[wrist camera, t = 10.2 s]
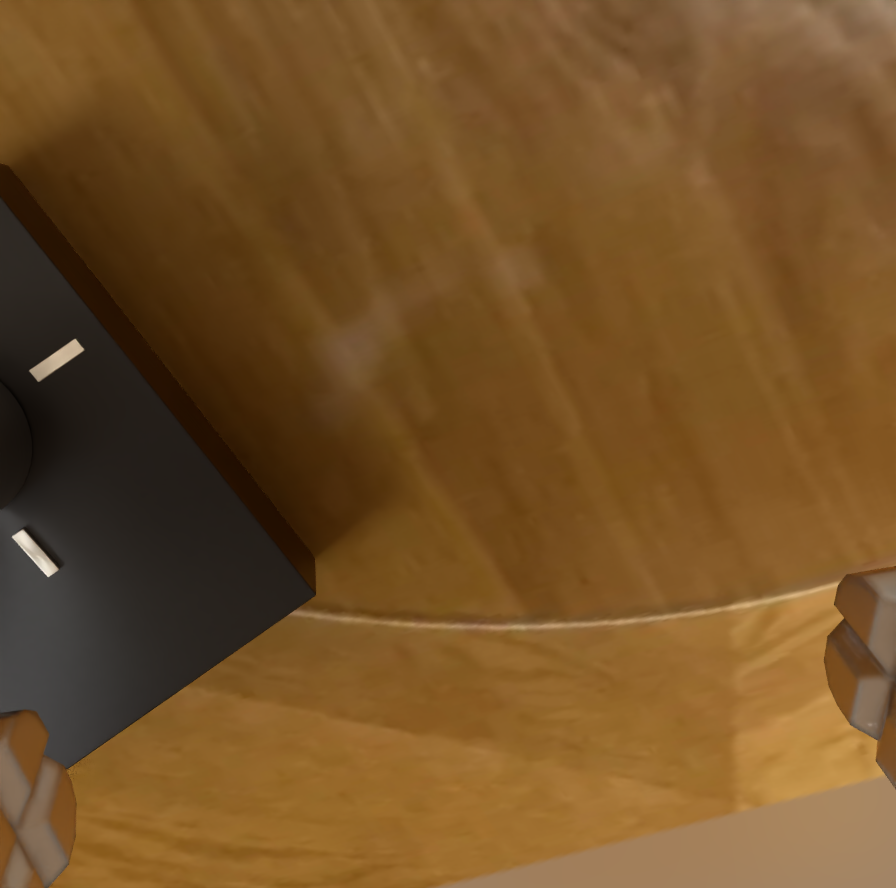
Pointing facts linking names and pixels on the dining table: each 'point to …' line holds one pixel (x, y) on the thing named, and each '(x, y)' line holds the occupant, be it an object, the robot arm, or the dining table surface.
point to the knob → (13, 447)
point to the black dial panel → (117, 509)
